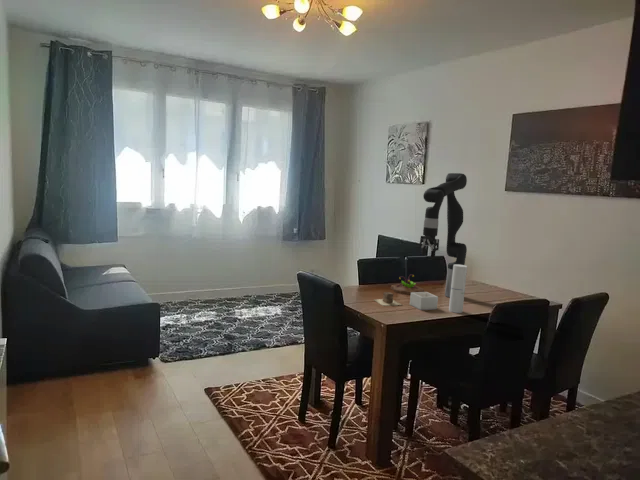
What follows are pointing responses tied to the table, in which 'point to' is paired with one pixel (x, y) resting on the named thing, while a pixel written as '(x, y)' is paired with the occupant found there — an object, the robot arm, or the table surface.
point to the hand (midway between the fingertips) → (427, 256)
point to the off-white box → (423, 300)
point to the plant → (406, 287)
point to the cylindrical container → (457, 288)
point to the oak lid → (387, 300)
